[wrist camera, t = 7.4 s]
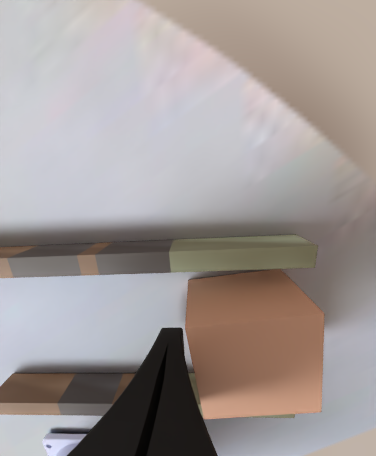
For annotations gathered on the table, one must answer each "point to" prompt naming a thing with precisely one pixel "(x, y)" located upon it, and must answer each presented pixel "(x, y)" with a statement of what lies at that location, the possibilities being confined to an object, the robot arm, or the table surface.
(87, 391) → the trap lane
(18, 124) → the table surface
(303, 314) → the terracotta block
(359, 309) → the table surface
